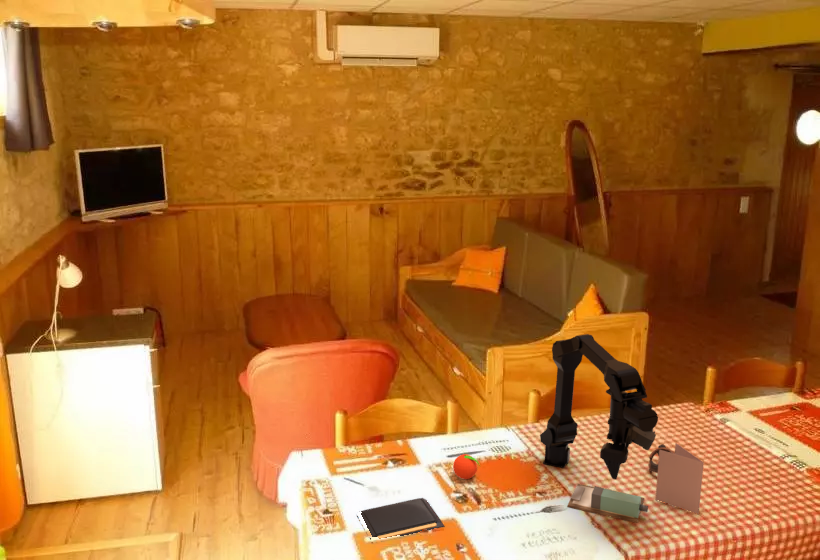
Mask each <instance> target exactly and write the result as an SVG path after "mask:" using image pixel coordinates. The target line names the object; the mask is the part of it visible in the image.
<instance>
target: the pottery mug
mask: <svg viewBox="0 0 820 560" xmlns="http://www.w3.org/2000/svg"><path fill="white" fill-rule="evenodd" d="M659 450H662V451H666V452H669V453H673V454H675V451H673V450H672V449H670V448H669V447H667V446H666V445H665V444H659V445H658V447H657V448H655V449H654V450H652V452H650V455H649V457H648V458H649V462H648V470H649V472H650V473H652V472H654V473H657V474H658V463H655V462H654V461H653V458H654V457H655V456H656V455H657V456H658V457H659Z"/></svg>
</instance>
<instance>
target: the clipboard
mask: <svg viewBox="0 0 820 560" xmlns="http://www.w3.org/2000/svg"><path fill="white" fill-rule="evenodd" d="M594 487H595V486H592V485H591V486H590V485H587V484H581V483H577V484H576V486H575V488H574V490H573V492H572V494H571V496H570V499H569V501H568V503H567V508H571V509H574V510H579V511H583V512H588V513H592V514H597V515H600V514H601V515H600V516H605V515H606V517H609V516H611V517H610V518H613V517H615V518H614V519H618V518H619V519H618V520H622V521H623V520H624V521H626V520H627V522H631V523H635V522H636V523H635V524H638V523H639V522H638V521H639V519H640V514H641V512H640V513H639V516H638V518H635V517H631V516H626V515H622V514H617V513H613V512H609V511H604V510H599V509H595V508H591V497H592V492H593V490H594ZM643 501H645V497H642V496H641V505H644V502H643Z"/></svg>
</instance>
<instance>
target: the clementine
mask: <svg viewBox="0 0 820 560" xmlns="http://www.w3.org/2000/svg"><path fill="white" fill-rule="evenodd" d="M478 465H479V467H481V465H480V463H479V462H478V460H477V459H476V458H474V457H473V456H472V455H470V454H466V453H463V454H461V455H458V456H457V457H456V458H455V459H454V461H453V464H452V467H453V468H452V469H453V472H454V474H455V475H456V476H457V477H458V478H460V479H462V480H469V479H471V478H473V477H474V476H475V475H476V473H477V470H478Z"/></svg>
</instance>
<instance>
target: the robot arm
mask: <svg viewBox="0 0 820 560" xmlns="http://www.w3.org/2000/svg"><path fill="white" fill-rule="evenodd" d="M551 352H552V360H553V362H554V364H555V365H556V369H557V370H556V371H557V372H556V381H555V382H556V383H555V395H554V407H553V410H554V411H553V413H552V415H551V416H550V417H549V418H548V420H547V425H546V429H545V430H544V431H543V432H541V433H540V435H539V439H540V443H542V444H543V445H544V446H545V447H544V460H542V464H543V465H547V466H552V467H556V468H557V467H558V468H561V469H562V468H563V469H564V468H566V466H567V464H569V462H570V461H571V459H570V455H571V448H570V447H569V445H570V444H574V442H575V439H576V437H577V436H578V426H579V425H578V422H576V421H575V419H574V417H573V415H572V409H573V399H574V390H575V389H574V387H575V386H574V385H575V377H576V376H575V375H576V370H577V368H578V367H579V365H580V364H581V362H582V360H583V357H585V358H586V359H587V360H588V361H589V362H590V363H592V364H593V366H594V367H596V368H597V369H598V370H599V371H600V372H601V373H602V376H603V381H604V383H605V384H606V385H607V387H608V389H606V391H605V393H606V394H607V395H609V396H610V407H609V418H608V420H607V425H608V432H607V435H606V439H607V440H610V441H612V442H608V441H607V442H605V443H604V444H603V445H602V447H601V449H600V451H599V452H600V455H599V458H600V459H601V460H602V461H603V462H604V464H605V465H606V468H607V470H608V472H609V475H610V477H611V479H612V480H617V479H618V476H619V473H620V469H621V465H622V464H626V463H627V460H628V458H629V449H628V448H629V446H630V445H631V444H632V443H633V444H635V445H637V446H639V447H640V448H642V449H643V450H645V451H649V450H651V447H652V445H653V444H654V441H655V439H656V436H657V434H656V431H655V430H654V428H655V427H656V426H657V424H658V420H659V416H658V413H657V412H656V410H655V409H653V405H652V403H650V402H647V401H645V400H644V399H646V398H648V394H647V390H646V387H645V385H644V383H643V381H642V378H641V375H640V373H639V371H638V370H637V369H636V368H635V367H634V366H632V365H631V364H630V363H627V362H623V361H620V360H618V359H616V358H615V357H614V356H613V355H611V354H610V352H608V351H607V349H605V348H604V347H603V346H602V345H601V344H599V342H598V341H596V340H595V338H594V336H593V335H592V334H589V333H585V334H578V335H575V336H573V337H571V338H567V339H560V340H556V341H554V342H553V343H552V347H551ZM634 390H635V391H634ZM628 391H630V392H628ZM631 391H632V392H631Z"/></svg>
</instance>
